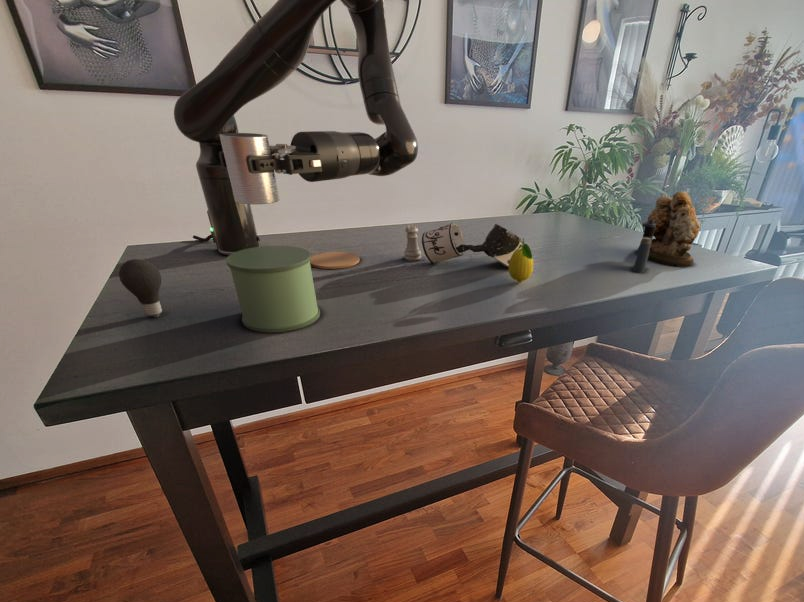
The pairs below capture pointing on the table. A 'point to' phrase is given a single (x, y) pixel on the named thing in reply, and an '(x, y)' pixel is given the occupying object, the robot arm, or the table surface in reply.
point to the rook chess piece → (412, 244)
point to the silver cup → (242, 181)
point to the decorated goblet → (451, 245)
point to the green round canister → (274, 288)
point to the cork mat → (334, 260)
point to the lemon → (521, 263)
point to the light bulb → (143, 283)
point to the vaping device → (644, 247)
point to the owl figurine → (673, 230)
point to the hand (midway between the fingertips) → (235, 162)
